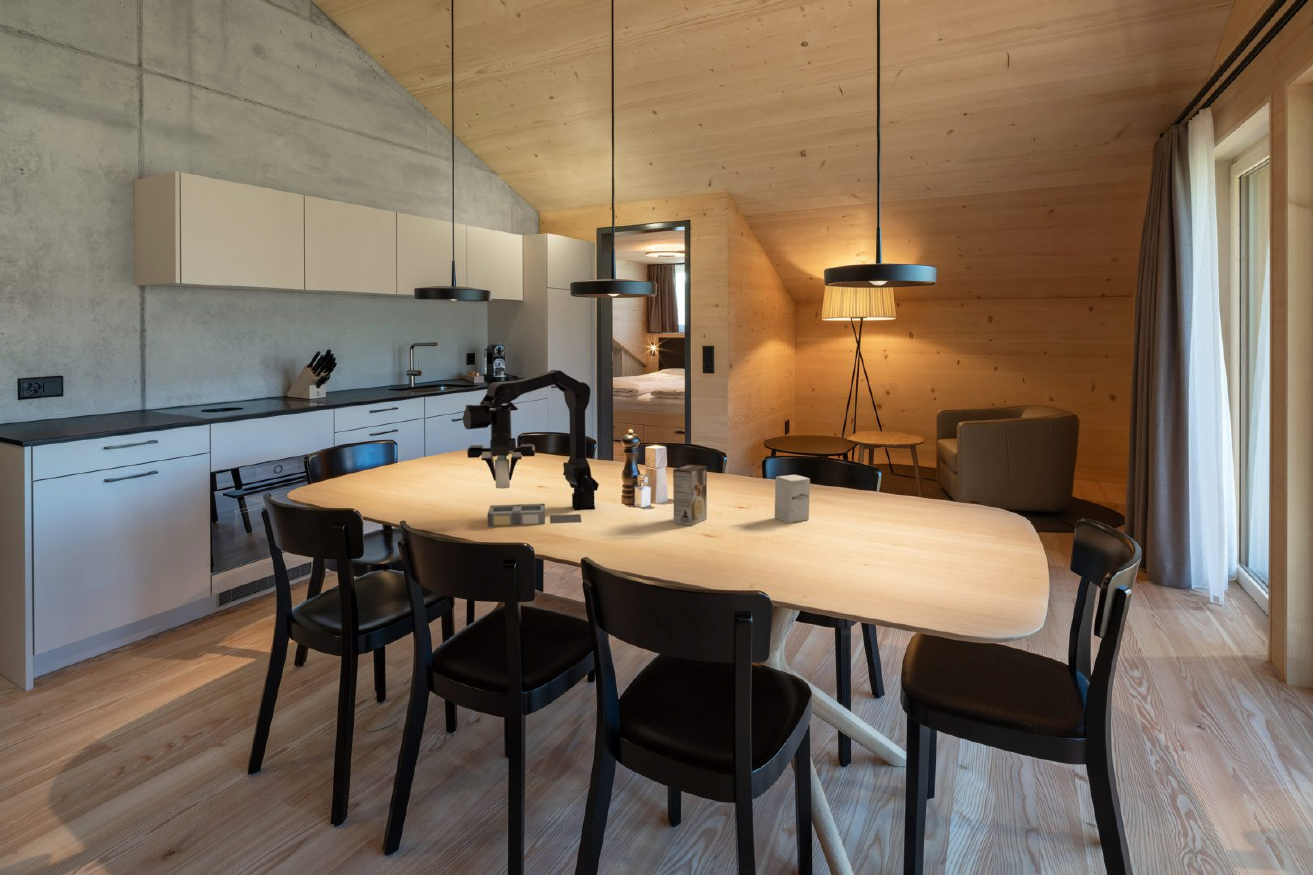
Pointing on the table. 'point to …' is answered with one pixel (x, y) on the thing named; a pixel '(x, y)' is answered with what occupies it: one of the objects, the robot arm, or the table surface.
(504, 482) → the beige and green cylinder
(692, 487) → the coffee box
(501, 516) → the socket block
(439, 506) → the table surface
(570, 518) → the mat
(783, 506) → the supplement box
